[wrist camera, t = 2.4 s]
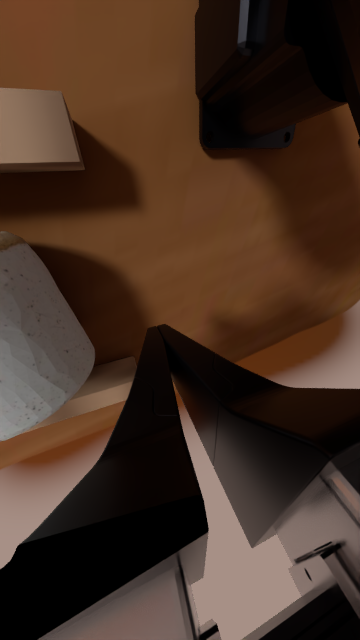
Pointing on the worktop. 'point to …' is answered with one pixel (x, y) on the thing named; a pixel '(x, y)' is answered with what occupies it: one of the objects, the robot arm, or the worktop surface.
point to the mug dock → (55, 155)
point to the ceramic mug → (35, 341)
